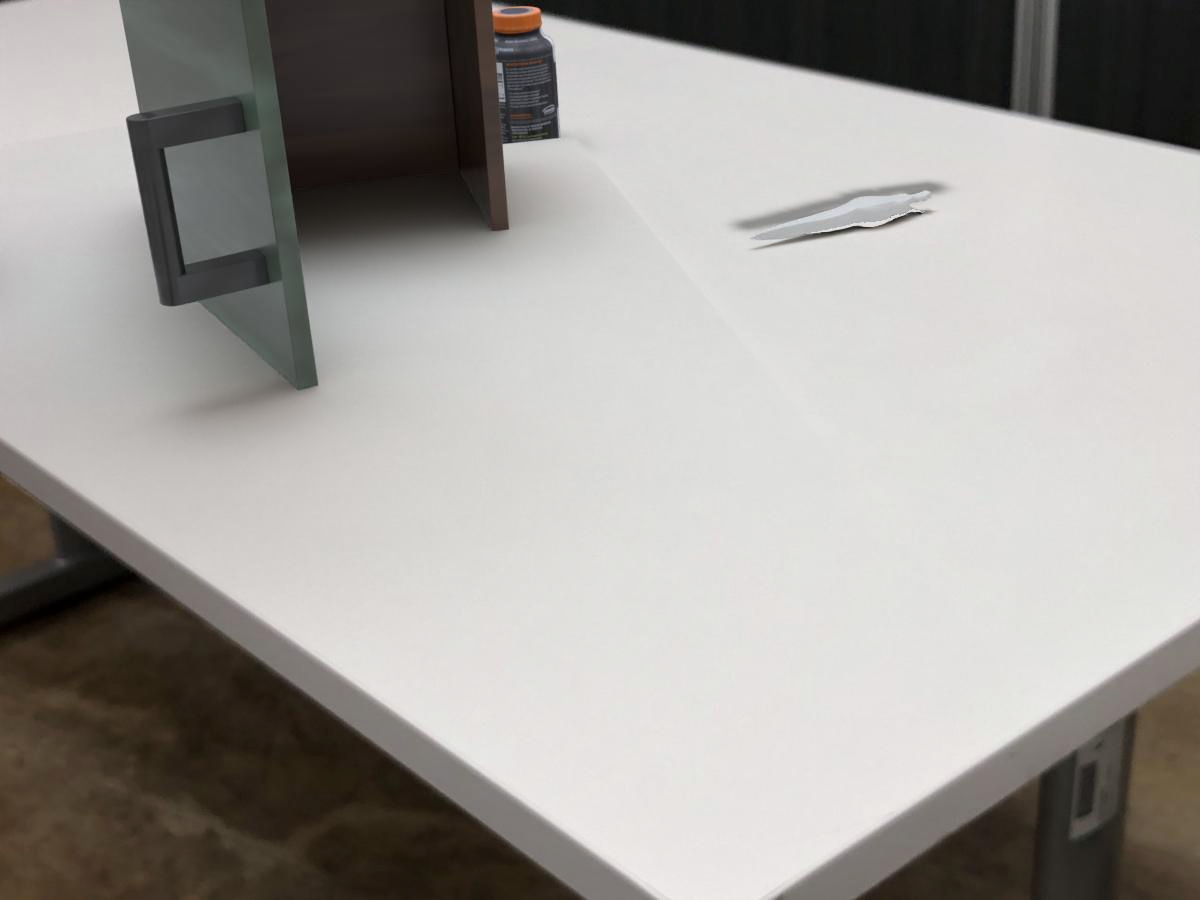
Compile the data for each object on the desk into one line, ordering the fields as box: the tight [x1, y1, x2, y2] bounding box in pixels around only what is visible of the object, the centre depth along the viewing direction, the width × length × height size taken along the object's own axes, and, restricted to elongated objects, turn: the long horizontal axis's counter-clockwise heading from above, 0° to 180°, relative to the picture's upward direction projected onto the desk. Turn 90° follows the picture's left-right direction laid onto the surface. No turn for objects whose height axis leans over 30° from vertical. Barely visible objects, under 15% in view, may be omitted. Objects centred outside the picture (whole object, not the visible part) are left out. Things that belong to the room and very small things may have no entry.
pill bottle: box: [492, 5, 562, 145], centre depth 129 cm, size 6×6×11 cm
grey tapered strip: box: [749, 189, 932, 241], centre depth 110 cm, size 15×3×2 cm, turn 116°
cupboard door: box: [118, 0, 319, 391], centre depth 89 cm, size 7×22×24 cm, turn 32°
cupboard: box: [264, 0, 510, 232], centre depth 108 cm, size 16×22×24 cm
